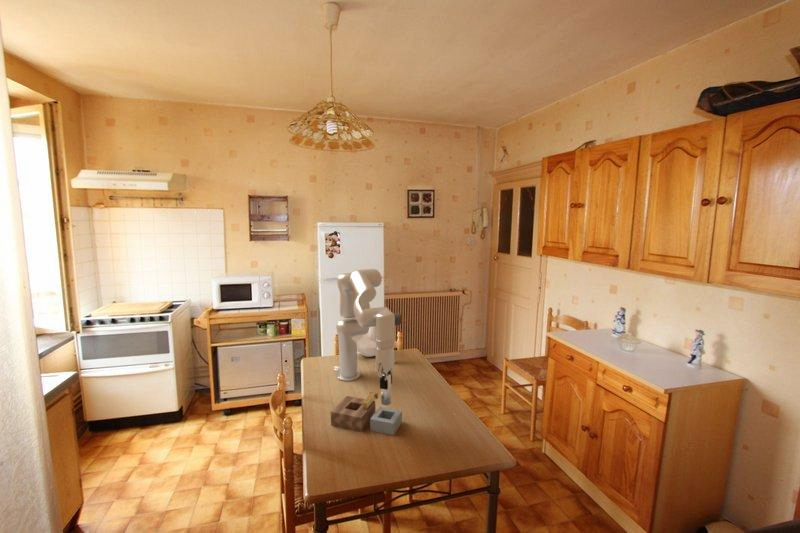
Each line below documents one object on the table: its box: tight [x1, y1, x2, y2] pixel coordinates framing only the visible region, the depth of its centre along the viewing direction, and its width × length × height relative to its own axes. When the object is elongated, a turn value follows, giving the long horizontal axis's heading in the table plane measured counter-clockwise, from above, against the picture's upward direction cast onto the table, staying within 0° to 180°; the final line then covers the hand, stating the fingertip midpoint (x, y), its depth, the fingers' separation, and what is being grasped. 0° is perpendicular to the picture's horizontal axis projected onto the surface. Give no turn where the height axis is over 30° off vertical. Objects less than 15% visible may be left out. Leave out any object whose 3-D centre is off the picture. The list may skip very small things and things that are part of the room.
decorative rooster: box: [352, 326, 377, 358], centre depth 225 cm, size 25×16×25 cm, turn 109°
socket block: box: [330, 395, 377, 432], centre depth 155 cm, size 14×14×6 cm
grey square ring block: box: [369, 406, 403, 436], centre depth 150 cm, size 10×10×5 cm
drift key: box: [362, 390, 380, 409], centre depth 157 cm, size 4×10×2 cm, turn 160°
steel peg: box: [380, 373, 392, 406], centre depth 148 cm, size 4×4×12 cm
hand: (386, 385), depth 147 cm, fingers closed on steel peg, 4 cm apart
